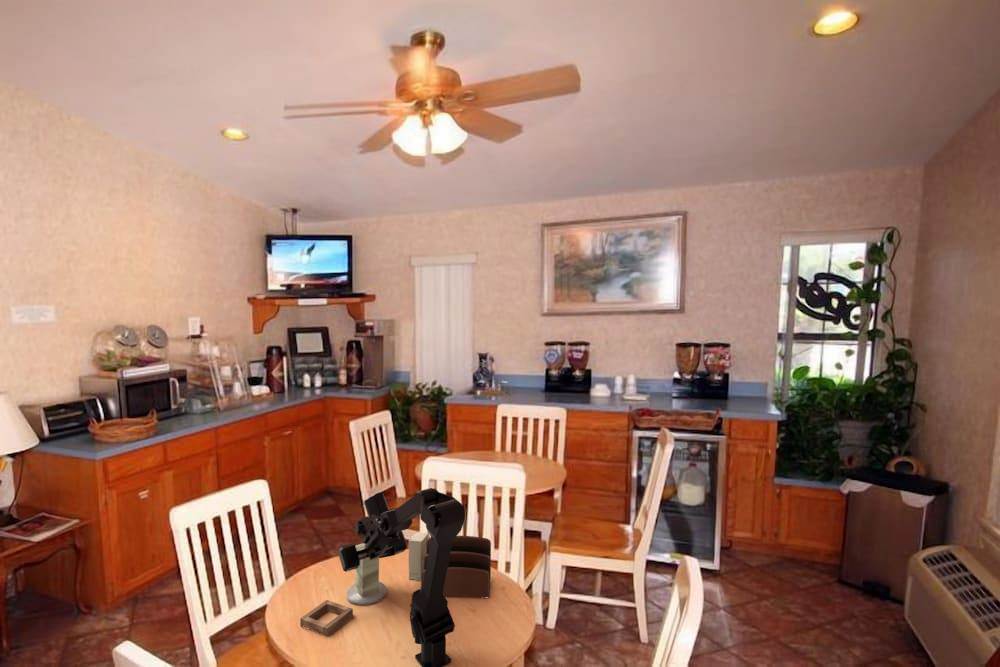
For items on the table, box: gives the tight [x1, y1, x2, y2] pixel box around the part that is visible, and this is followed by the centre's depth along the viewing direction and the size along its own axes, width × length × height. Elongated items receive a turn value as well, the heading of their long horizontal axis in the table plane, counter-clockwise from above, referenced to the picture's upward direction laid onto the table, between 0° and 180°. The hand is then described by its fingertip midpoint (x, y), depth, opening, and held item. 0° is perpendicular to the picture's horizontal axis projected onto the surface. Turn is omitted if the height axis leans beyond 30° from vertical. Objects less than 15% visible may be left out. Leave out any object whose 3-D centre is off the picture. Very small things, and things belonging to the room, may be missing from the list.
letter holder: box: [420, 535, 492, 599], centre depth 145 cm, size 10×20×14 cm, turn 89°
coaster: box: [346, 581, 387, 606], centre depth 141 cm, size 11×11×1 cm
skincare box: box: [408, 531, 429, 581], centre depth 152 cm, size 6×4×12 cm
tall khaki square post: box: [354, 543, 380, 598], centre depth 141 cm, size 5×5×13 cm
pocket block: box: [299, 599, 354, 637], centre depth 129 cm, size 9×9×2 cm
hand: (364, 561), depth 142 cm, fingers open, 9 cm apart
